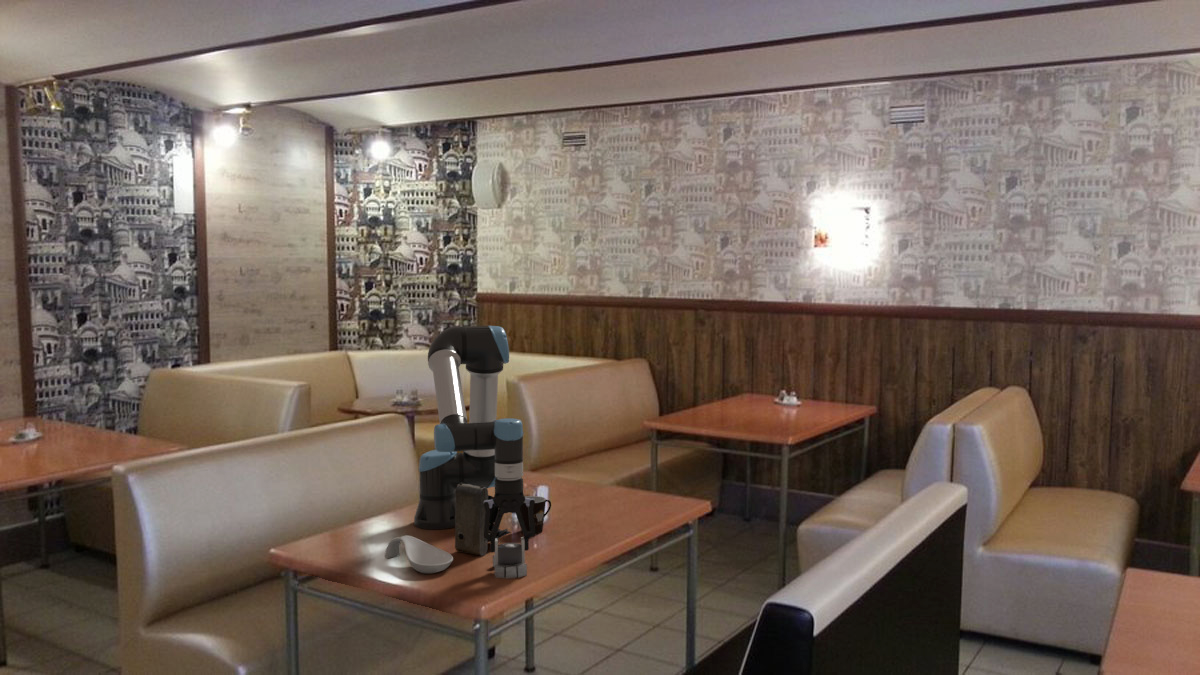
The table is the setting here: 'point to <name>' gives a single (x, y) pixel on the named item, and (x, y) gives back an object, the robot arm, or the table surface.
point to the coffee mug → (535, 513)
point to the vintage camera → (473, 519)
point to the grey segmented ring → (510, 570)
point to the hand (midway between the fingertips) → (509, 562)
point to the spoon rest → (420, 554)
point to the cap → (509, 553)
